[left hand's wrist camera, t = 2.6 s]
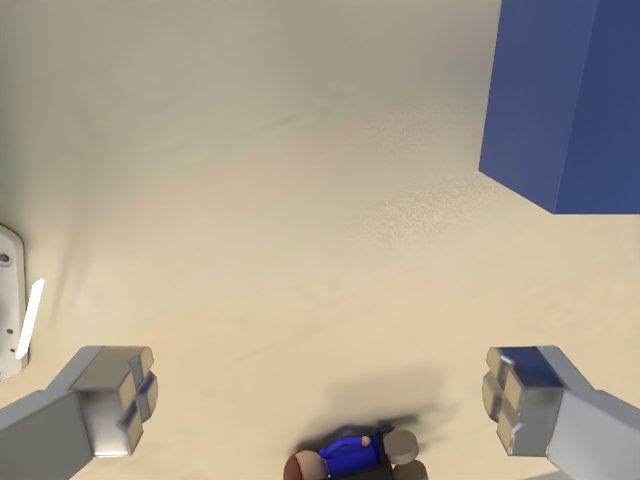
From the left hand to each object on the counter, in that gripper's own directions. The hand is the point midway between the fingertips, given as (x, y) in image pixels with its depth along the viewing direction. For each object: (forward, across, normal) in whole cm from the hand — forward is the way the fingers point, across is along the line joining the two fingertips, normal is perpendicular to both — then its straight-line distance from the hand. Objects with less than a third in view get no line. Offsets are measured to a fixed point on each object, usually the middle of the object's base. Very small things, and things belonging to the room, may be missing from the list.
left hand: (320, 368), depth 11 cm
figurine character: (+29, -3, +33) cm, 44 cm away
